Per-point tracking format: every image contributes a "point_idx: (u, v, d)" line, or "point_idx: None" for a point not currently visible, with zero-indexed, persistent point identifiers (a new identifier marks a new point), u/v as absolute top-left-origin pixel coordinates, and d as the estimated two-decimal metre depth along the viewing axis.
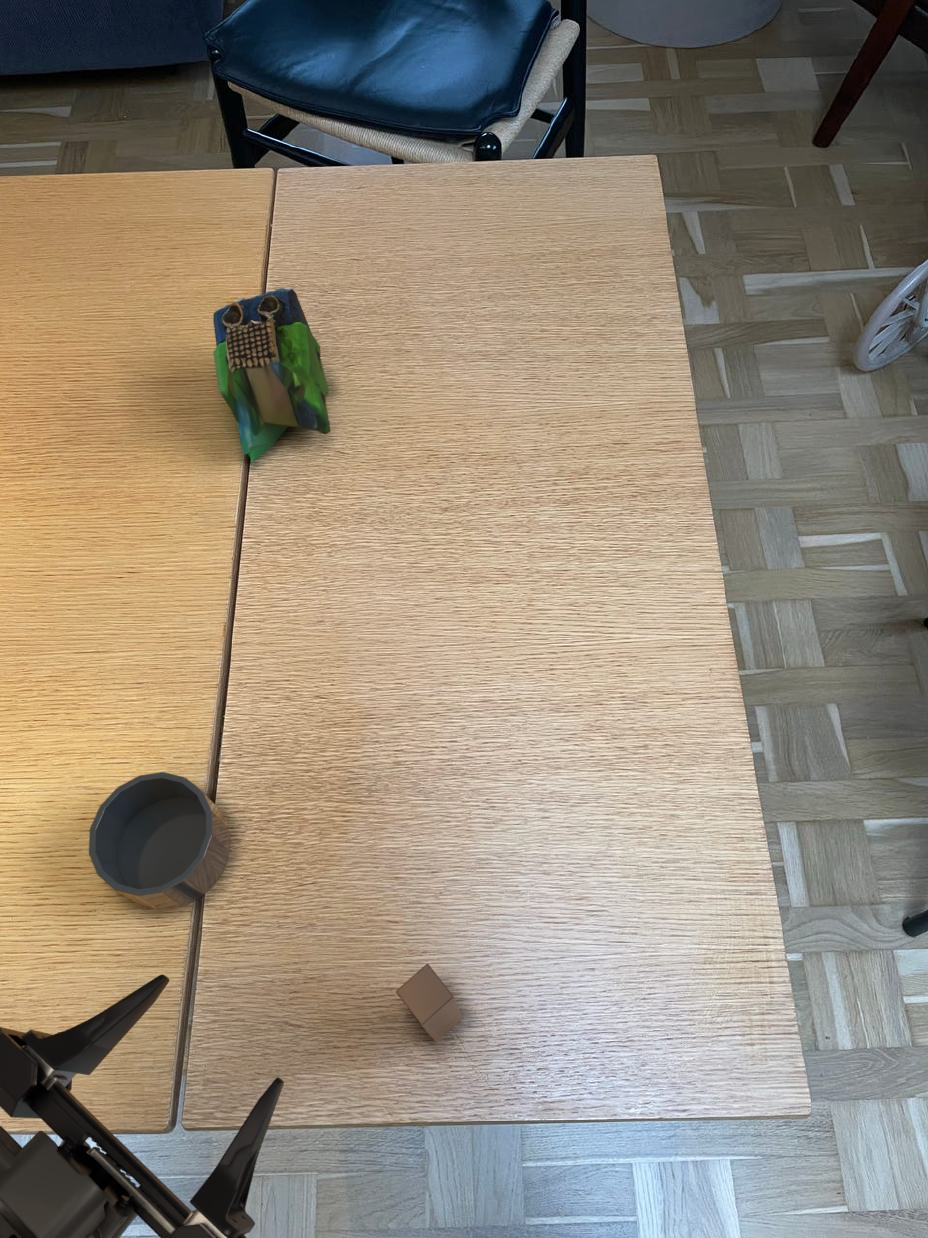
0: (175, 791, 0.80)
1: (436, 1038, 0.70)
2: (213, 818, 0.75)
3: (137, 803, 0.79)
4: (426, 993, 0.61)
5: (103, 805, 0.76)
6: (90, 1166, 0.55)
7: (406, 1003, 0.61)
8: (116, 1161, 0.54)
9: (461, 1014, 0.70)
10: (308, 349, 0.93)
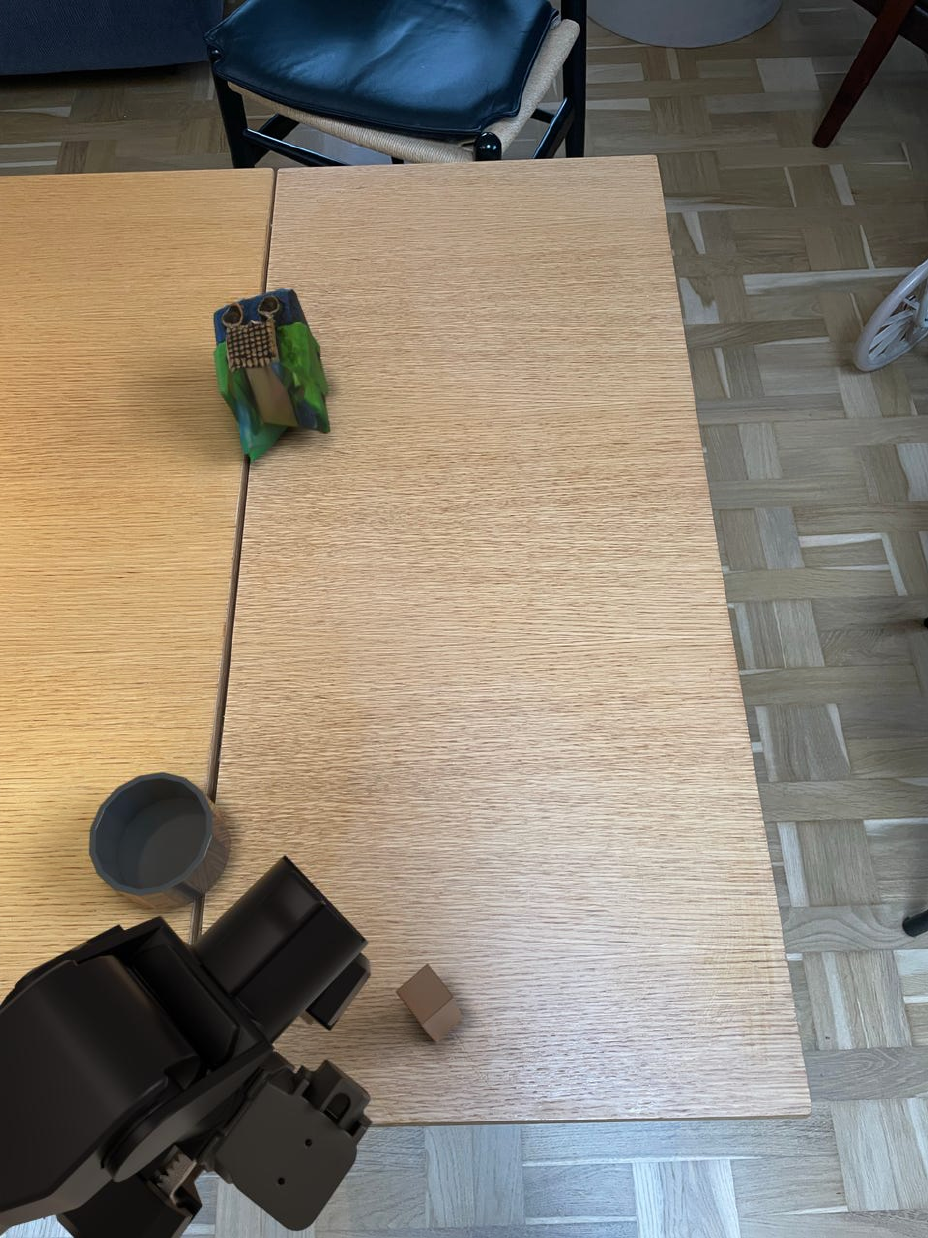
0: (175, 791, 0.80)
1: (436, 1038, 0.70)
2: (213, 818, 0.75)
3: (137, 803, 0.79)
4: (426, 993, 0.61)
5: (103, 805, 0.76)
6: None
7: (406, 1003, 0.61)
8: None
9: (461, 1014, 0.70)
10: (308, 349, 0.93)
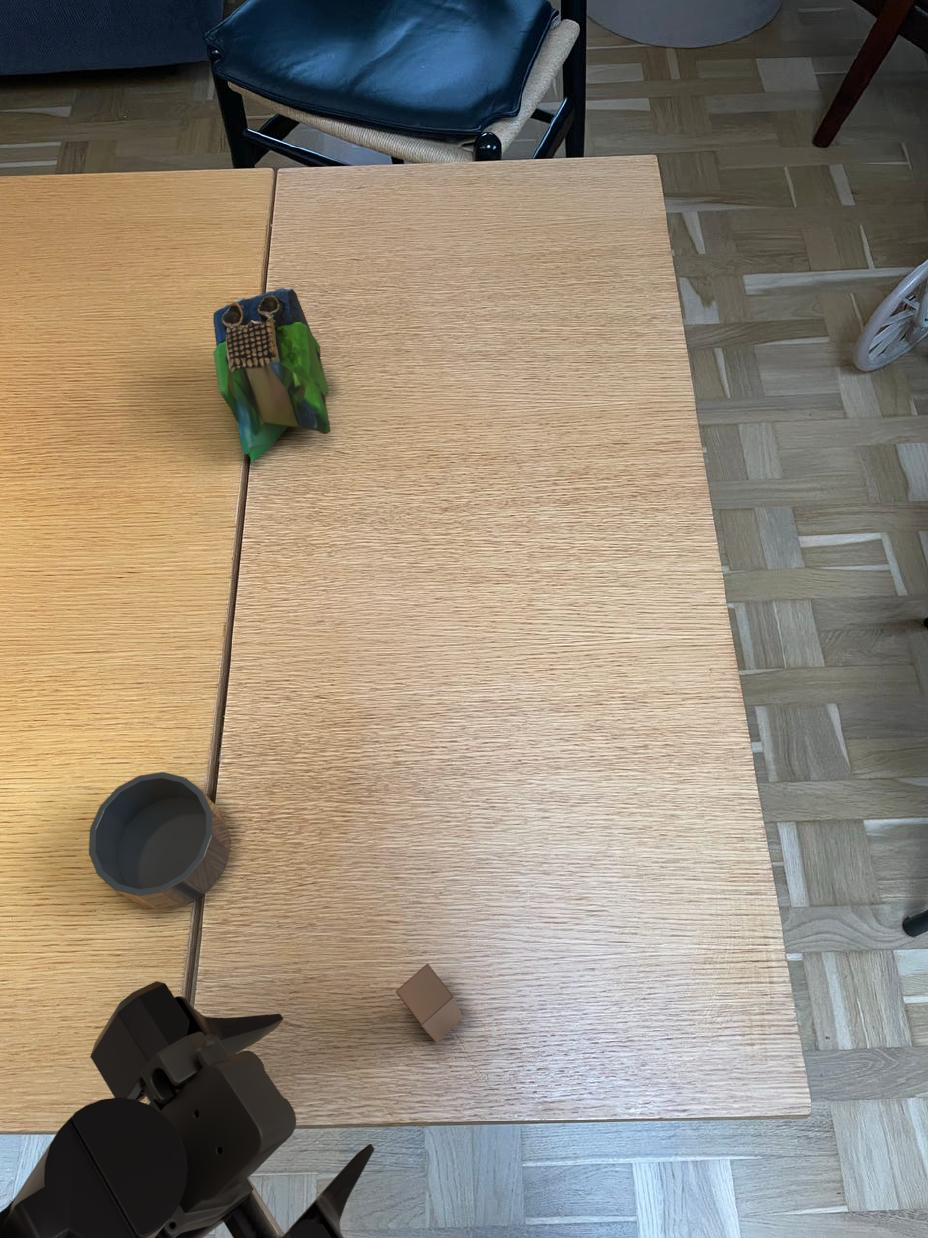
0: (175, 791, 0.80)
1: (436, 1038, 0.70)
2: (213, 818, 0.75)
3: (137, 803, 0.79)
4: (426, 993, 0.61)
5: (103, 805, 0.76)
6: None
7: (406, 1003, 0.61)
8: None
9: (461, 1014, 0.70)
10: (308, 349, 0.93)
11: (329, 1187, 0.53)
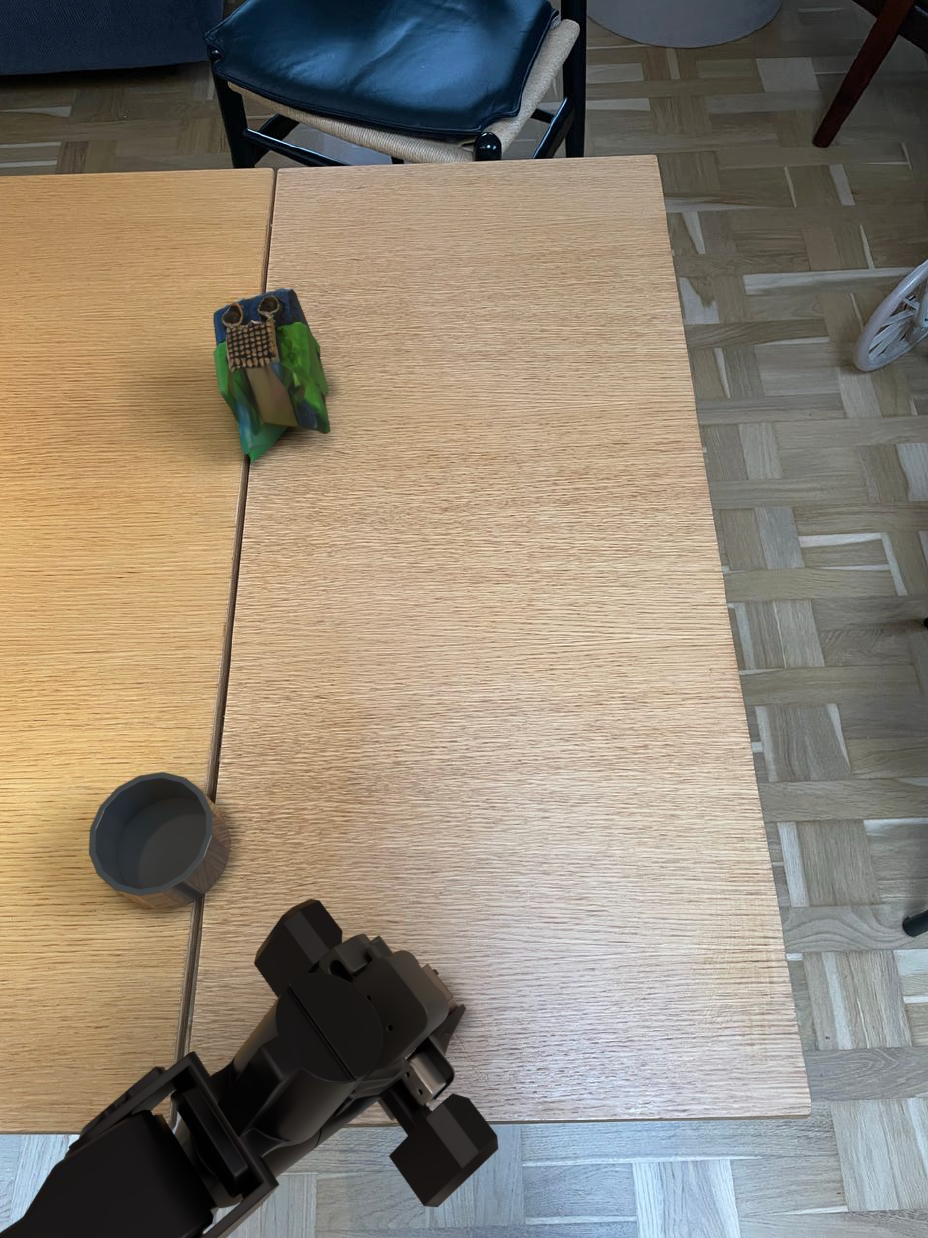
0: (175, 791, 0.80)
1: None
2: (213, 818, 0.75)
3: (137, 803, 0.79)
4: None
5: (103, 805, 0.76)
6: None
7: None
8: (405, 1089, 0.59)
9: None
10: (308, 349, 0.93)
11: (434, 1031, 0.62)
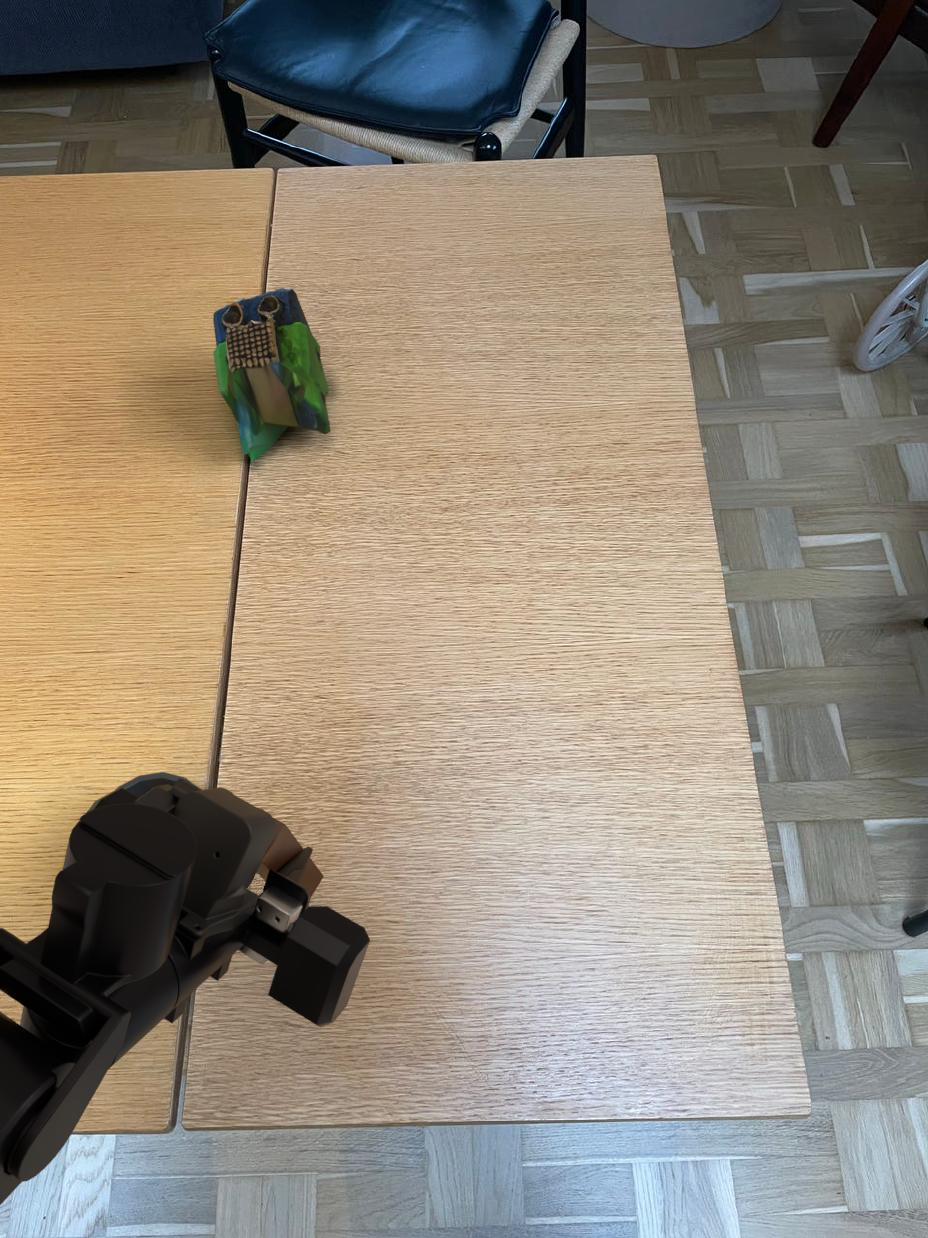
0: None
1: None
2: None
3: None
4: None
5: None
6: None
7: None
8: (264, 927, 0.57)
9: None
10: (308, 349, 0.93)
11: (280, 870, 0.61)
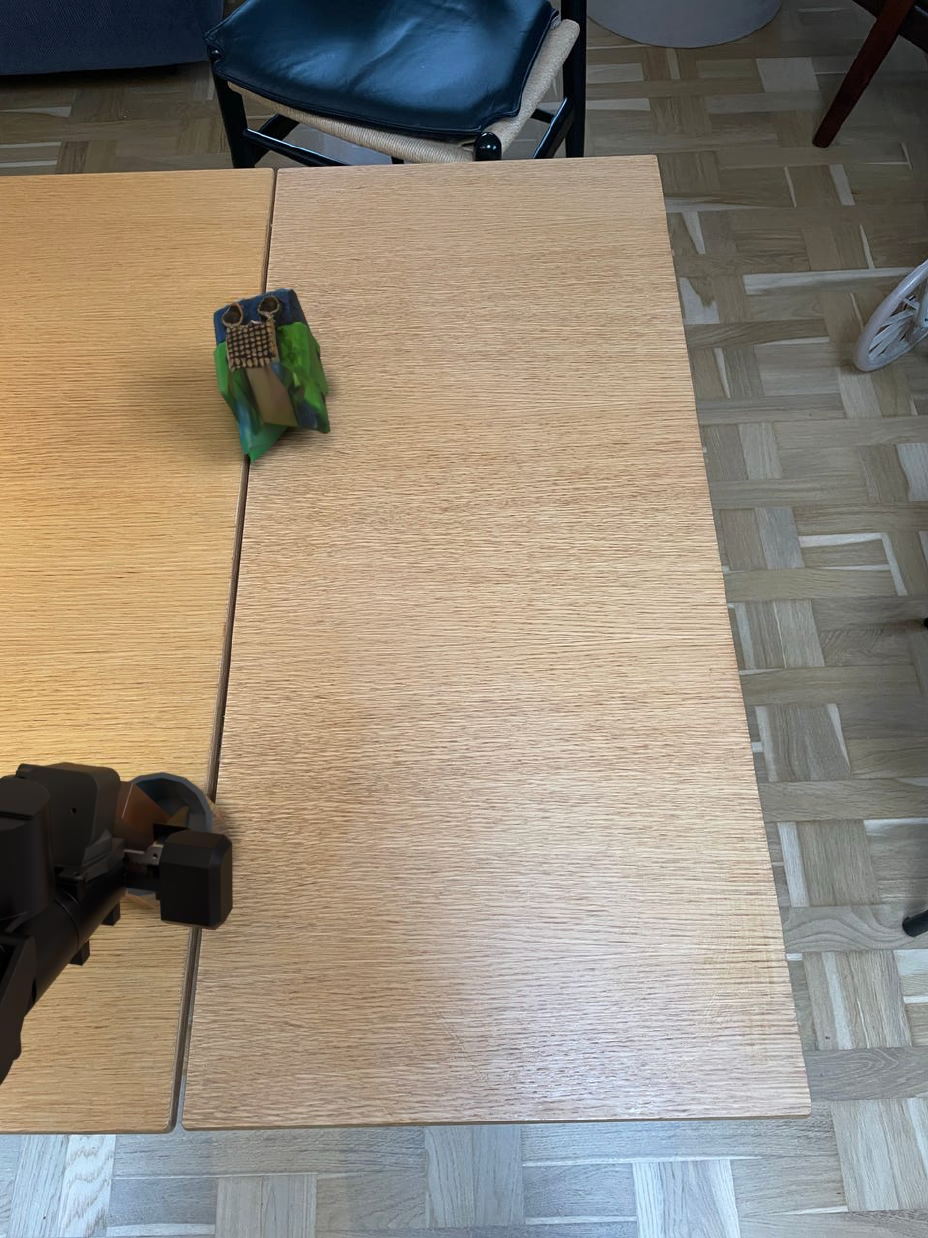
0: (175, 791, 0.80)
1: None
2: (213, 818, 0.75)
3: None
4: None
5: None
6: None
7: None
8: None
9: None
10: (308, 349, 0.93)
11: None
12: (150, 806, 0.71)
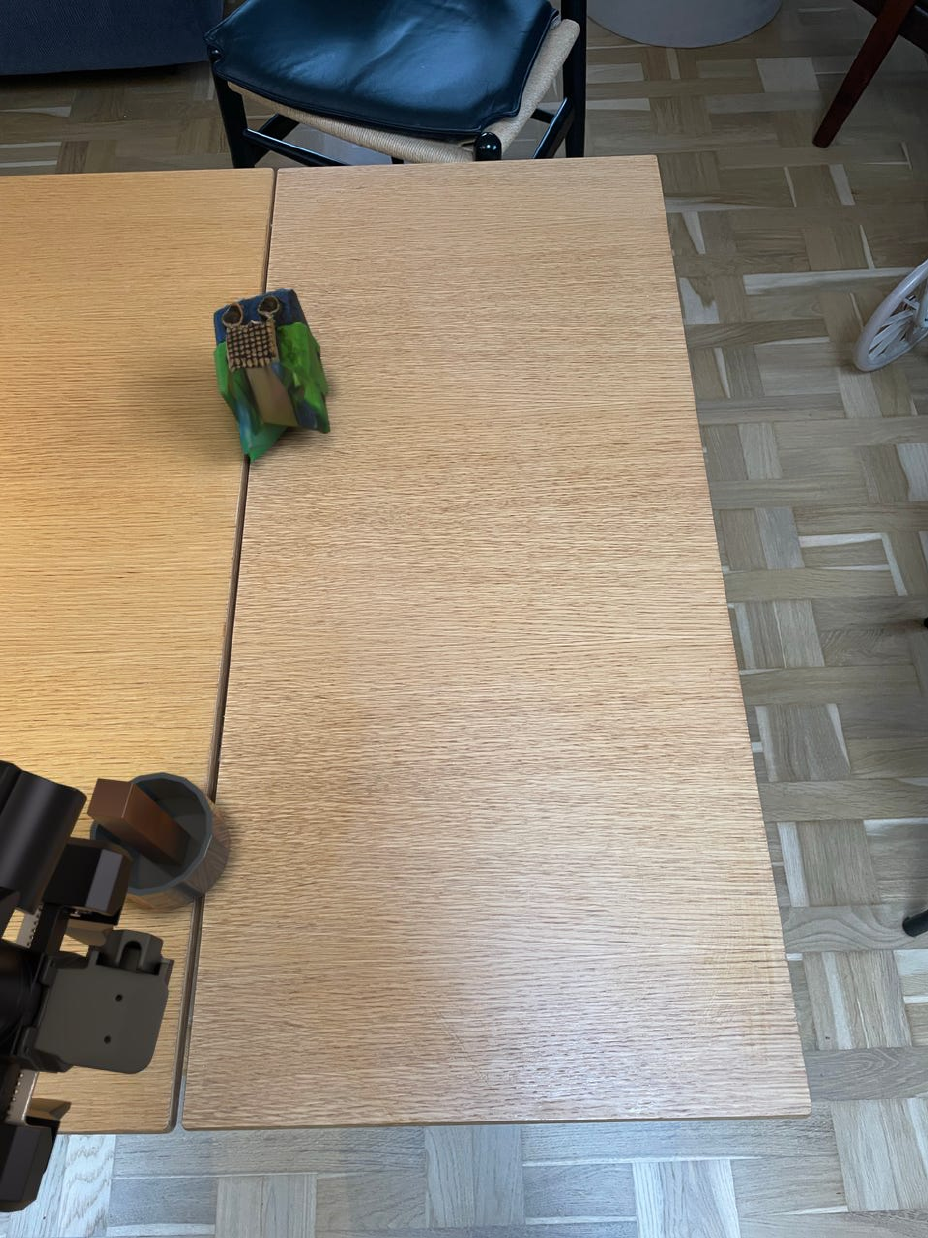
0: (175, 791, 0.80)
1: (173, 856, 0.76)
2: (213, 818, 0.75)
3: None
4: (110, 796, 0.67)
5: None
6: None
7: (100, 814, 0.67)
8: None
9: (179, 825, 0.77)
10: (308, 349, 0.93)
11: (51, 1112, 0.55)
12: (150, 806, 0.71)
